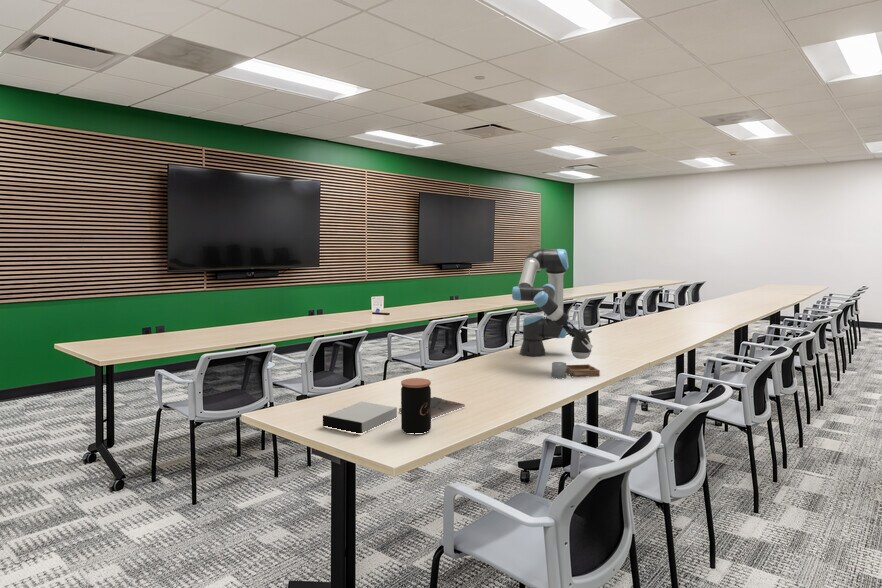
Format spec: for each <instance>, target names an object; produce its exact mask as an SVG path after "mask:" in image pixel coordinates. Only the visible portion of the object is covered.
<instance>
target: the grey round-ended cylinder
mask: <svg viewBox="0 0 882 588" xmlns="http://www.w3.org/2000/svg"><path fill="white" fill-rule="evenodd" d="M566 365H567V363H566V362H564V361H563V362H562V361H553V362H552V363H551V378H552V377H553V379H556V378H557V379H559V380H562V378H564V379H566V378H567V373H566Z"/></svg>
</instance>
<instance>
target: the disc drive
mask: <svg viewBox="0 0 882 588" xmlns="http://www.w3.org/2000/svg"><path fill="white" fill-rule="evenodd" d="M396 417H397V418H398V408H397V407H395V406H390V405H384V404H378V403H373V402H367V401H359V402H356V403H354V404H351V405H349V406H347V407H344V408H341V409H338V410H336V411H333V412H331V413H329V414H324V415H322V427H323V426H328V427H332V428H337V429H341V430H346V431H351V432H356V433H363V432H365V431H368V430H370V429H372V428H374V427H377V426H379V425H381V424H383V423H385V422H387V421H390V420H392V419H394V418H396ZM390 422H391V421H390Z"/></svg>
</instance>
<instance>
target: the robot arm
mask: <svg viewBox="0 0 882 588" xmlns="http://www.w3.org/2000/svg"><path fill="white" fill-rule="evenodd" d="M522 267H523V268H522V271H521V275H520V279H519V282H518V285H517V286H513V287H512V290H511V296H512V300H513V301H517V302H518V301H519V302H522V301H523V302H525V301H526V302H533V303H534V304H535V305H536V306H537V307H538V308H539V309H540V310H541V311H542V312H543V313H544V314H545V315H546V316H545V318H544V316H543V315H531V316H526V317H524V318H523V324H522V329H523V330H522V332H523V333H522V335H523V336H522V344H521V347H520V350H519V354H520V355H521V354H522V356H525V355H526V356H525V357H543V356H546V350H545V346H544V343H543V338H546V339H548V338H550V339H565V338H566V336H567V334H568V335H569V336H570V337H571V338H573V337H574V335H575V336H576V337H577V338H578V339H579V340H580V342H582V343H583V344H584V345H585V346H586V347H587V348H588V349H589V350H590V349H591V350H592V348H594V345H593V344H592V343H590V342H591V341H590V342H589V341H588V340H587V339H586V337H585V336H584V335H583V334H582V333H581V332H579V331H578V328H577V327H576V326H575V325H574V324H573V323H571V322H570V321H569V315H568V314H567V313H566V312H565V311H564V275H565V273H566V272H567V270H569V267H570V266H569V257H568V252H567V250H566V249H564V248H537V249H535V250H533V251H531V252H530V253H528V254H527V255H526V256H525V258H524V260H523V263H522ZM540 269H541V270H545V273H546V274H547V276H548V278H547V280H548V283H545V284H543V286H534V283H535V278H536V275H537V271H538V270H540Z"/></svg>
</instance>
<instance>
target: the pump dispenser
mask: <svg viewBox="0 0 882 588" xmlns="http://www.w3.org/2000/svg"><path fill="white" fill-rule="evenodd" d="M577 330H578V331H579V332H581V333H582V334H583V335H584V336H585V337H586V339H587V340H588V341H589V342H590V343H591V338H590V336H589V334H591V333H592V332H593V331H592V329H590V330H586V329H584V328H579V329H578V328H577ZM591 344H592V343H591ZM570 351H571V353H572V356H573V357H574V358H576V359H578V360H581V359H582V360H585V359H588V358H589V357H590V355H591V353H592V348H591V349H590V350H589V349H588V348H587V347H586V346H585V345H584V344H583V343H582V342H580V340H579V339H578V338H577V337H576V336H575V335H574V337H572V342H571V346H570Z"/></svg>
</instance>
